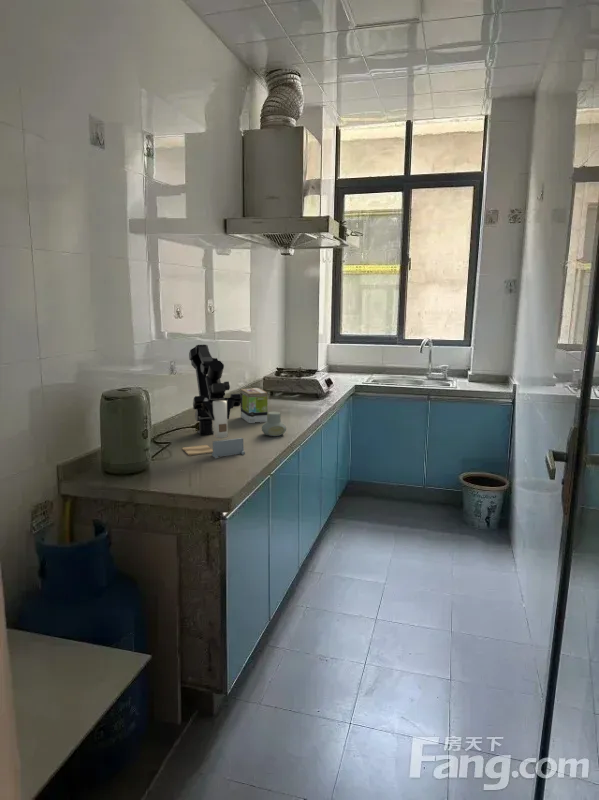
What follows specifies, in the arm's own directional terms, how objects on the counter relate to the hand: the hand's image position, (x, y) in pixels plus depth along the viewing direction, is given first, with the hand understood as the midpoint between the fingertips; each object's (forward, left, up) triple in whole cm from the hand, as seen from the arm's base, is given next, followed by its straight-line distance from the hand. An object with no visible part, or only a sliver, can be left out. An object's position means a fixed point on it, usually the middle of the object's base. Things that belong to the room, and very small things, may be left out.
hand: (221, 419), depth 208 cm
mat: (-6, -8, -13) cm, 17 cm away
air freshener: (-15, +29, -14) cm, 36 cm away
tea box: (-46, +32, -14) cm, 58 cm away
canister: (-1, 0, -7) cm, 7 cm away
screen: (+4, +1, -13) cm, 14 cm away
